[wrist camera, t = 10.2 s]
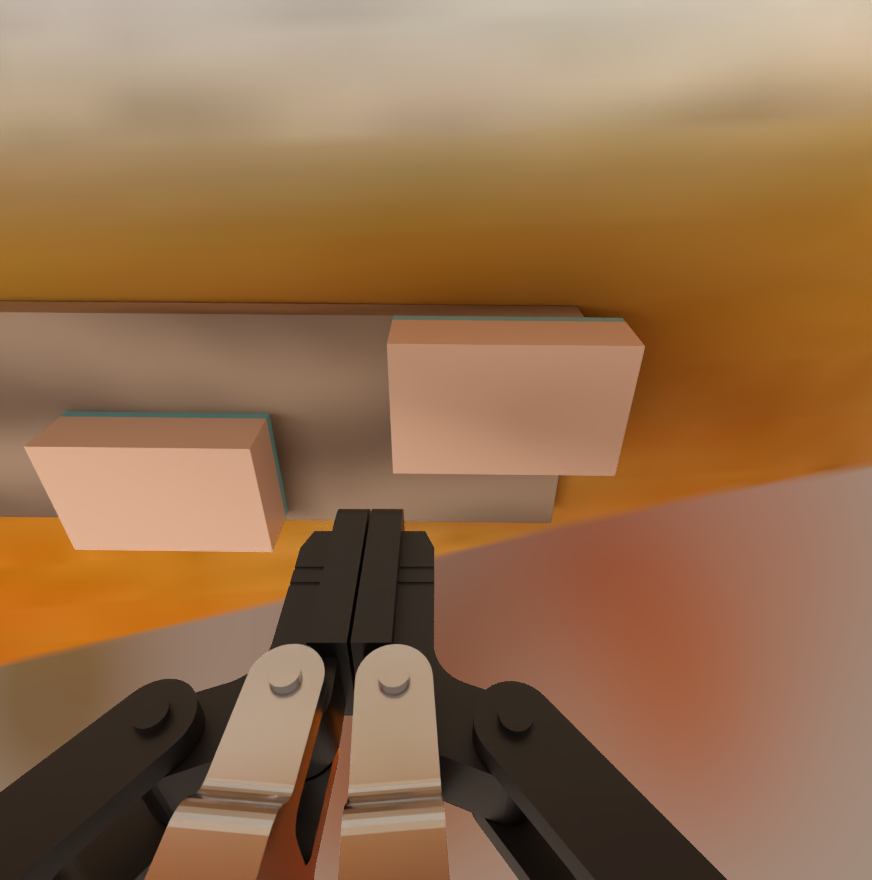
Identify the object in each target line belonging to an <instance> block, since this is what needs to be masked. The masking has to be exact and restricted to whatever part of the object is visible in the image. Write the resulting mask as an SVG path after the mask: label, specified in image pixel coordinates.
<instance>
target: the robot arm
mask: <svg viewBox="0 0 872 880" xmlns="http://www.w3.org/2000/svg"><path fill="white" fill-rule="evenodd" d="M344 715H353V725H352V743H351V759H350V777H349V792H348V800H347V803H346V804H345V806H344V811H343V818H342V828H341V843H340V857H339V874H338V880H450V875H449V864H448V863H449V862H448V849H447V836H446V823H445V811H444V802H443V801H445V802H447V803H450V804H452V805H455V806H457V807H460V808H462V809H465V810H467V811H469V812H472V815H473V817H474V818H475V820H476V822H477V823H478V824H479V826H480V827H481V829H482V830H483V831H484V833H485V834H486V835H487V837H488V838H489V839H490V841H491V842H492V843H493V845H494V846H495V848H496V849H497V850H498V852H499V853H500V854H501V856H502V857H503V859H504V860H505V861H506V863H507V864H508V865H509V867H510V868H511V869H512V871H513V872H514V874H515V875H516V876H517V878H518V879H519V880H727V879H726V878H725V877H724V876H723V875H722V874H721V873H720V872H719V871H718V870H717V869H716V868H715V867H714V866H713V865H712V864H711V863H710V862H709V861H708V860H707V859H706V858H705V857H704V856H703V855H702V854H701V853H700V852H699V851H698V850H697V849H696V848H695V847H694V846H693V845H692V844H691V843H690V842H689V841H688V840H687V839H686V838H685V837H684V836H683V835H682V834H681V833H680V832H679V831H678V830H677V829H676V828H675V827H674V826H673V825H672V824H671V823H670V822H669V821H668V820H667V819H666V818H665V817H664V816H663V815H662V814H661V813H660V812H659V811H658V810H657V809H656V808H655V807H654V806H653V805H652V804H651V803H650V802H649V801H648V800H647V799H646V798H645V797H644V796H643V795H642V794H641V793H640V792H639V791H638V790H637V789H636V788H635V787H634V786H633V785H632V784H631V783H630V782H629V781H628V780H627V779H626V778H625V777H624V776H623V775H622V774H621V773H620V772H619V771H618V770H617V769H616V768H615V767H614V766H613V765H612V764H611V763H610V762H609V761H608V760H607V759H606V758H605V757H604V756H603V755H602V754H601V753H600V752H599V751H598V750H597V749H596V748H595V747H594V746H593V745H592V744H591V743H590V742H589V741H588V740H587V739H586V738H585V737H584V736H583V735H582V734H581V733H580V732H579V731H578V730H577V729H576V728H575V727H574V725H573V724H572V723H571V722H570V721H569V720H568V719H566V717H565V716H564V715H562V714H561V713H560V711H558V709H557V708H556V707H555V706H554V705H553V704H552V703H550V701H549V700H548V699H547V698H545V696H544V695H542V694H541V693H540V692H539V691H538V690H536V689H535V688H533V687H531V686H529V685H527V684H524V683H520V682H515V681H505V682H501V683H497V684H495V685H492V686H491V687H489V688H488V689H486V690H484V689H481V688H478V687H476V686H472V685H469V684H467V683H464V682H462V681H459V680H457V679H456V678H454V677H452V676H451V675H450V674H448V673H447V672H446V671H445V670H444V669H443V668H442V666H441V665H440V664H439V662H438V660H437V658H436V655H435V651H434V547H433V545H432V543H431V541H430V539H429V538H428V536H427V534H426V532H425V531H404V511H403V509H372V510H370V509H338V511H337V513H336V517H335V522H334V526H333V530H332V531H314V533H313V534H312V535H311V536H310V537H309V538H308V540H307V541H306V542H305V543H304V544H303V545H302V547H301V548H300V551H299V555H298V558H297V561H296V565H295V570H294V571H293V575H292V578H291V581H290V586H289V588H288V592H287V595H286V598H285V602H284V605H283V608H282V612H281V615H280V618H279V622H278V625H277V629H276V632H275V635H274V639H273V642H272V645H271V647H270V650H269V651H268V652H267V653H265V654H264V655H263V656H261V657H260V658H259V659H258V660H257V661H256V662H255V664H254V665H253V666H252V667H251V669H250V671H249V673H248V674H246V675H245V676H243V677H241V678H239V679H237V680H235V681H232V682H229V683H226V684H223V685H219V686H216V687H213V688H210V689H206V690H203V691H199V692H197V693H195V692H194V690H193V689H192V687H191V686H190V685H188V684H187V683H185V682H183V681H181V680H177V679H164V680H159V681H154V682H152V683H149V684H147V685H145V686H143V687H141V688H139V689H138V690H136V691H135V692H133V693H132V694H131V695H129V696H128V697H127V698H125V699H124V700H123V701H121V702H120V703H119V704H117V705H116V706H115V707H113V708H112V709H111V710H109V711H108V712H107V713H105V714H104V715H103V716H101V717H100V718H99V719H97V720H96V721H95V722H93V723H92V724H91V725H89V726H88V727H87V728H85V729H84V730H83V731H81V732H80V733H79V734H77V735H76V736H75V737H73V738H72V739H71V740H69V741H68V742H67V743H65V744H64V745H63V746H61V747H60V748H59V749H57V750H56V751H55V752H53V753H52V754H51V755H49V756H48V757H47V758H45V759H44V760H43V761H41V762H40V763H39V764H37V765H36V766H35V767H33V768H32V769H31V770H29V771H28V772H27V773H25V774H24V775H23V776H21V777H20V778H19V779H17V780H16V781H15V782H13V783H12V784H11V785H9V786H8V787H7V788H5V789H4V790H3V791H2V792H0V880H314V876H315V869H316V863H317V858H318V853H319V848H320V844H321V840H322V835H323V830H324V826H325V821H326V816H327V812H328V807H329V803H330V798H331V794H332V788H333V784H334V780H335V775H336V771H337V766H338V761H339V755H340V746H339V745H340V739H341V732H342V726H343V719H344Z"/></svg>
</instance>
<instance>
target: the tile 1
mask: <svg viewBox="0 0 872 880" xmlns="http://www.w3.org/2000/svg"><path fill="white" fill-rule="evenodd" d="M24 448H25V450H26V452H27V454H28V456H29V458H30V460H31V462H32V464H33V466H34V468H35V470H36V472H37V474H38V476H39V478H40V480H41V482H42V484H43V486H44V488H45V490H46V492H47V494H48V496H49V498H50V500H51V502H52V504H53V506H54V508H55V510H56V512H57V514H58V516H59V518H60V520H61V522H62V524H63V526H64V528H65V530H66V532H67V534H68V536H69V538H70V540H71V543H72V545H73V547H74V549H75V550H144V551H228V552H273V550H274V547H275V545H276V542H277V539H278V537H279V534H280V531H281V528H282V526H283V523H284V520H285V518H286V515H287V512H288V509H287V504H286V499H285V494H284V488H283V483H282V478H281V473H280V467H279V462H278V457H277V452H276V446H275V441H274V436H273V431H272V425H271V420H270V415H269V413H185V412H86V411H65V412H64V413H63V414H62V415H61V416H60V417H58V418H57V419H56V420H55V421H54V422H52V423H51V424H50V425H49V426H48V427H46V428H45V429H44V430H43V431H42V432H40V433H39V434H38V435H37V436H36V437H35V438H33V439H32V440H31V441H30V442H29V443H27V444H26V445H25V446H24Z"/></svg>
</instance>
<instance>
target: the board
mask: <svg viewBox="0 0 872 880" xmlns="http://www.w3.org/2000/svg"><path fill="white" fill-rule="evenodd" d="M393 316H481V317H584V316H583V315H582V313H581V311H580V310H579V308H578V307H577V306H524V305H409V304H294V303H179V302H64V301H0V517H59V516H58V514H57V512H56V510H55V508H54V506H53V504H52V502H51V500H50V498H49V496H48V494H47V492H46V490H45V488H44V486H43V484H42V482H41V480H40V478H39V476H38V474H37V472H36V470H35V468H34V466H33V464H32V462H31V460H30V458H29V456H28V454H27V452H26V450H25V448H24V446H25V445H26V444H27V443H29V442H30V441H31V440H32V439H33V438H35V437H36V436H37V435H38V434H39V433H40V432H42V431H43V430H44V429H45V428H46V427H48V426H49V425H50V424H51V423H52V422H54V421H55V420H56V419H57V418H58V417H60V416H61V415H62V414H63V413H64V412H65V411H86V412H185V413H269V415H270V420H271V425H272V431H273V436H274V441H275V446H276V452H277V457H278V462H279V467H280V473H281V478H282V483H283V488H284V494H285V499H286V504H287V509H288V512H287V515H286V518H285V520H335V517H336V513H337V511H338V509H370V510H372V509H403V511H404V521H428V522H514V523H551V520H552V514H553V508H554V502H555V495H556V489H557V483H558V477H559V475H489V474H398V473H393V462H392V442H391V421H390V400H389V380H388V359H387V341H388V336H389V332H390V327H391V323H392V319H393Z"/></svg>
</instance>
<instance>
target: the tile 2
mask: <svg viewBox="0 0 872 880" xmlns="http://www.w3.org/2000/svg"><path fill="white" fill-rule="evenodd" d="M644 349H645V345H644V344H643V343H642V342H641V340H640V339H639V338H638V337H637V335H636V334H635V333H634V332H633V330H632V329H631V328H630V327H629V325H628V324H627V323H626V322H625V320H624V319H623V318H594V317H481V316H393V319H392V323H391V327H390V332H389V336H388V341H387V359H388V380H389V400H390V421H391V442H392V462H393V473H398V474H489V475H581V476H615V473H616V469H617V465H618V460H619V456H620V452H621V448H622V443H623V439H624V435H625V430H626V426H627V422H628V418H629V413H630V409H631V405H632V400H633V396H634V392H635V388H636V383H637V379H638V375H639V371H640V366H641V362H642V358H643V353H644Z"/></svg>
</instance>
